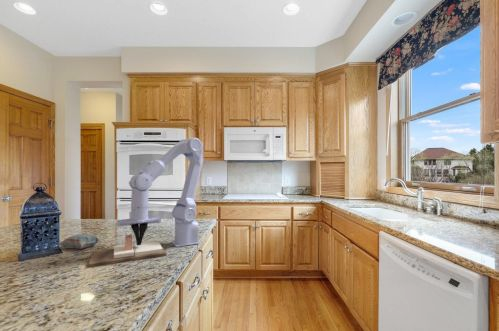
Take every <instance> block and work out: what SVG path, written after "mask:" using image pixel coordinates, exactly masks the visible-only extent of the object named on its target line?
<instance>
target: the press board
mask: <svg viewBox="0 0 499 331" xmlns="http://www.w3.org/2000/svg"><path fill="white" fill-rule="evenodd" d="M159 243H160V245H161V247H162V248H163V252H160V253H153V254H146V255H139V256H135V254H134V256H128V257H121V258H114V247H113V248H105V249H99V250H98V249H97V250H92V252H91V255H90V259H89V262H88V268H94V267H103V266H106V265H107V266H108V265H114V264H115V265H116V264H121V263H127V262H133V261H141V260H148V259H154V258H155V259H156V258H160V257H161V258H162V257H166V256H167V251H166V250H165V248H164V246H163V245H162V243H161V242H159Z"/></svg>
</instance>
